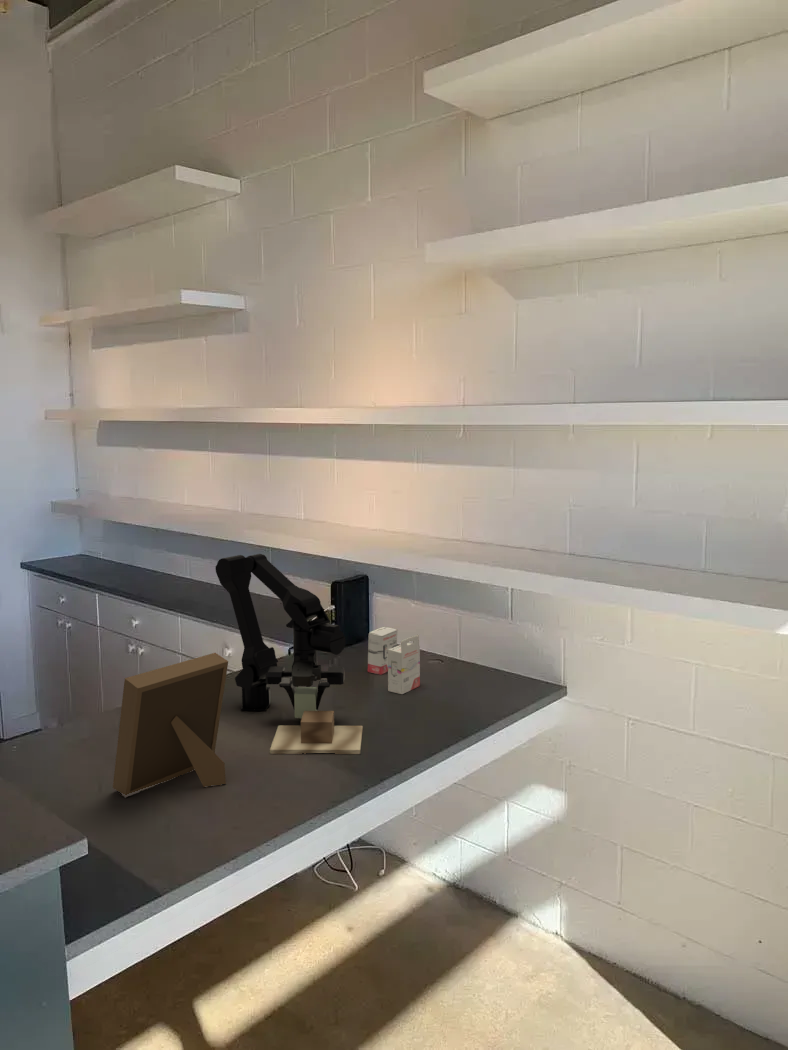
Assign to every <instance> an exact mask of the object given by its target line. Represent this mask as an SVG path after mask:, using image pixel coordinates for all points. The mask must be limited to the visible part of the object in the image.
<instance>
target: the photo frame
mask: <svg viewBox="0 0 788 1050" xmlns="http://www.w3.org/2000/svg"><path fill="white" fill-rule="evenodd" d="M228 667H229V661H228V660H227V659H225V658H224V657H222V656H221V655H219V654H218V653H217V652H213V653H210V654H205V655H202V656H198V657H196V658H192V659H188V660H184V661H181V662H177V663H174V664H170V665H166V666H163V667H160V668H156V669H153V670H149V671H146V672H142V673H137V674H135V675H130V676H128V677H125V678H124V682H123V692H122V700H121V710H120V719H119V726H118V727H119V729H118V737H117V743H116V744H117V747H116V754H115V764H114V774H113V783H112V788H113V789H114V790H115V789H116V790H117V791H119V792H121V793H123V794H125V795H127V794H129V793H132V792H135V791H138V790H140V789H143V788H146V787H149V786H152V785H155V784H158V783H161V782H164V781H167V780H169V781H171V780H170V779H172V778H174V777H177V778H179V777H181V776H180V775H182V776H184V775H186V774H188V773H187V772H189V773H191V772H193V771H192V770H194V769H195V770H194V771H195V773H196V775H197V776H198V779H199V781H200V782H201V785H202V787H203V788H204V787H205V786H211V785H220V786H222V785H221V784H226V785H227V782H226V781H227V779H226V767H225V766H226V765H225V762H224V761H223V760H222V759H221V758H220V757H219V756H218V755H217V754H216V753H215V752H216V747H217V739H218V733H219V727H220V720H221V714H222V713H221V711H222V706H223V700H224V699H223V698H224V695H225V687H226V686H225V685H226V680H227V673H228ZM190 771H191V772H190ZM185 773H186V774H185ZM183 774H184V775H183ZM178 776H179V777H178ZM174 779H175V778H174ZM172 780H173V779H172ZM167 782H168V781H167ZM164 783H165V782H164ZM116 790H115V791H116ZM117 791H116V792H117Z"/></svg>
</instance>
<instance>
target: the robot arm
mask: <svg viewBox="0 0 788 1050" xmlns="http://www.w3.org/2000/svg"><path fill="white" fill-rule="evenodd" d="M215 573H216V575H217V578H218V581H219V583H220V585H221V586H222V587H223V589H224V590H225V591H226V592H228V594H229V597H230V599H231V600H230V602H231V603H232V608H233V611H234V616H235V619H236V623H237V626H238V629H239V633H240V637H241V641H242V646H243V653H242V656H241V668H242V669H241V670H240V671H239V673H238V674H237V675H236V676H235V677H234V681H235V684H236V686H237V687H239V688H241V707H240V711H242V712H243V711H247V712H248V711H252V712H253V711H255V712H256V711H259V712H260V711H261V712H263V711H267V710H268V707H269V706H270V704H271V701H272V700H271V698H272V697H271V687H269V685H278V686H279V688H283V689H284V690H285V691H286V693H287V695H288V697H289V700H290V702H291V705H292V707H293V710H294V711H295V706H294V694H295V691H296V688H297V687H313V686H314V682H318V685H317V700H316V710H317V711H319V707H320V703H321V700H322V697H323V695H324V692H325V689H328V688H331V686H332V685H333V686H334V685H336V686H337V685H339V686H340V685H344V684H345V679H346V676H345V675H346V669H345V668H344V667H343V666H328V669H327V670H322V665H321V664H318V652H322V653H326V654H331V655H334V656H335V655H336V656H337V655H340V654H341V653H342V652H343V651H344V650H345V646H346V637H345V634H344V631H341V629H340V625H339V624H330V623H331V620H330V618H329V616H328V614H327V613H326V611H325V609H324V606H323V605H322V603H321V600H320V598H319V597H318V596H317V595H316V594H315V593H313V592H311V591H310V590H309V589H305V588H302V587H299V586H297V585H296V584H294V583H293V582H292V581H291V580H290V579H289V578H287V576H285V574H284V573H282V572H281V571H280V570H279V569H278V568H277V567H276V566H275V565H273V563H271V562H270V561H269V560H268V558H267V556H266V555H265V554H262V553H257V554H252V555H248V556H246V557H245V555H242V554H237V555H233V556H227V557H223V558H220V559H219V560H217V562H216V565H215ZM252 575H254V577H256V578H257V579H258V580H259V581H260V582H261V583H262V584H263V585H265V586H266V588H268V590H269V591H270V592H272V593H273V594H274V595H275V596H276V597H277V598H278V599H279V600H280V601H281V604H282V607H283V610H284V611H285V612H286V615H288V616H289V618H290V619H291V620H290V621H289V622H287V623H286V625H285V627H286V628H289V629H292V636H293V637H292V642H293V643H292V645H293V651H292V652H293V661H292V665H291V670H286V668H285V666H284V665H283V666H281V665H280V666H279V665H278V663H279V660H278V659H277V656H276V650H275V648H274V647H273V646H271V647H269V646H267V644H266V643H265V642H264V639H263V635H262V632H261V629H260V625H259V621H258V617H257V614H256V610H255V606H254V602H253V598H252V595H251V592H250V584H251V581H252V580H251V579H252Z"/></svg>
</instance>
